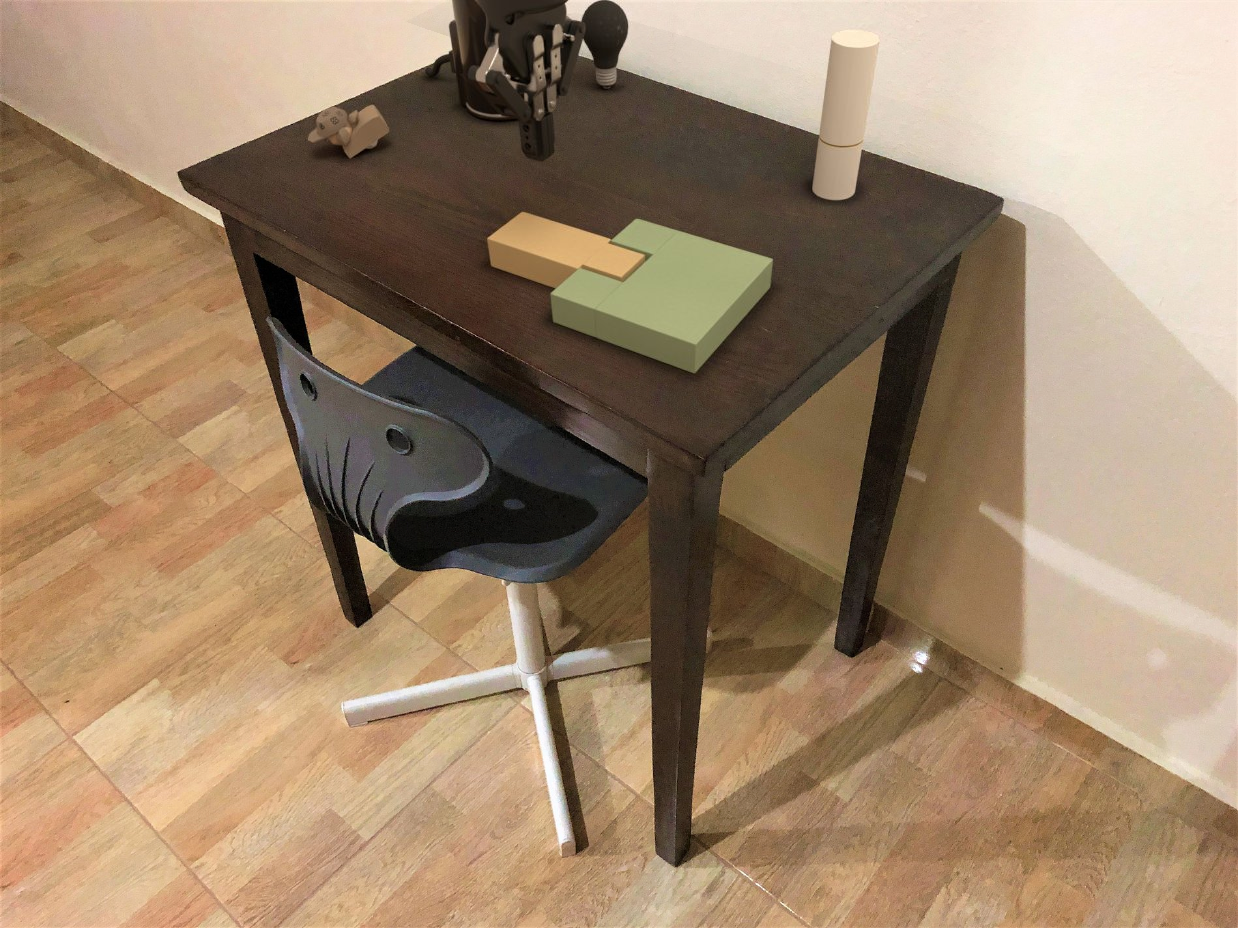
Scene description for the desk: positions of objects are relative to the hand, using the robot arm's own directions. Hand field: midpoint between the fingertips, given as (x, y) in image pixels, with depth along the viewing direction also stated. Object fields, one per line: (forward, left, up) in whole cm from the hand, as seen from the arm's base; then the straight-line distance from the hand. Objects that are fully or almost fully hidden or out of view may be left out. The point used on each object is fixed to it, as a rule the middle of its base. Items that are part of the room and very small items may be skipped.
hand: (539, 156), depth 79 cm
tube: (+17, +26, -11) cm, 33 cm away
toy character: (-33, +8, -11) cm, 36 cm away
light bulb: (-17, +36, -11) cm, 41 cm away
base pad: (+12, 0, -11) cm, 16 cm away
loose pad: (+2, 0, -11) cm, 11 cm away
